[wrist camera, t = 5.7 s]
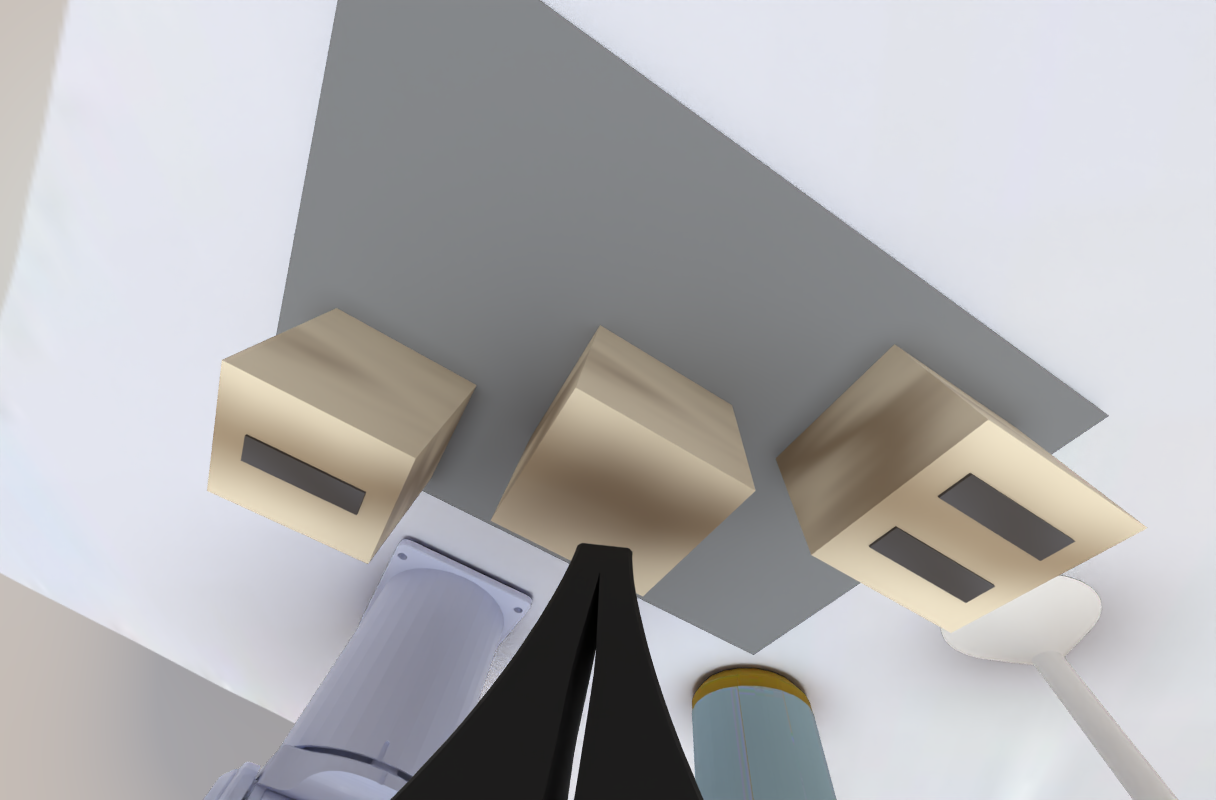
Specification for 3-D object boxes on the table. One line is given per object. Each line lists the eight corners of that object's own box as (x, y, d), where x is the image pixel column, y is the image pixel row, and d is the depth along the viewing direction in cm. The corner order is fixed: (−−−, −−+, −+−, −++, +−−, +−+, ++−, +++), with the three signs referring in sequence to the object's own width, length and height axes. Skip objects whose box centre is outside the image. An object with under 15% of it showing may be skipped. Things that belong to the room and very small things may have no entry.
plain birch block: (647, 500, 20) (642, 596, 15) (530, 437, 19) (490, 520, 14) (732, 405, 17) (755, 490, 12) (600, 325, 16) (575, 387, 12)
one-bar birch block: (430, 478, 21) (366, 565, 16) (308, 417, 20) (205, 492, 15) (476, 385, 18) (414, 460, 13) (336, 308, 17) (219, 361, 12)
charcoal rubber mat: (752, 648, 25) (753, 654, 24) (269, 406, 20) (262, 411, 20) (1099, 410, 16) (1108, 416, 15) (371, -121, 11) (361, -131, 11)
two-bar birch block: (884, 523, 19) (952, 635, 14) (775, 458, 18) (812, 557, 13) (1016, 427, 16) (1149, 530, 12) (894, 344, 15) (990, 421, 11)
